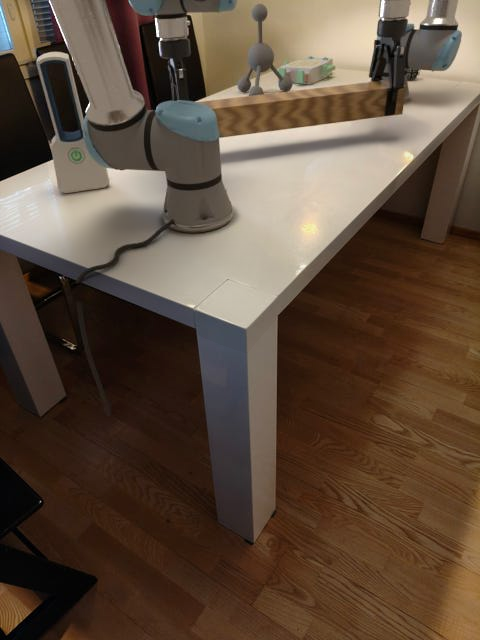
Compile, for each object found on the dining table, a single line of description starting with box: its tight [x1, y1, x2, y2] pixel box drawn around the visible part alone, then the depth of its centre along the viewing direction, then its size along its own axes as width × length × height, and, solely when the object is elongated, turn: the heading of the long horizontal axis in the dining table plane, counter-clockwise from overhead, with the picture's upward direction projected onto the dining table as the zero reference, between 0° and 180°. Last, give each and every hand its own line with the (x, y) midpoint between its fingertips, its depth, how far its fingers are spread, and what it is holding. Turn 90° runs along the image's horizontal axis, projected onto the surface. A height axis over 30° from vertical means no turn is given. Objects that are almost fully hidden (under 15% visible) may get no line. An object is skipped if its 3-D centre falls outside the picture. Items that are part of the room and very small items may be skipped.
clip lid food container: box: [277, 55, 336, 85], centre depth 206 cm, size 26×6×20 cm
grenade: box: [407, 69, 421, 81], centre depth 194 cm, size 7×6×10 cm
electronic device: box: [35, 51, 110, 194], centre depth 116 cm, size 12×8×30 cm, turn 105°
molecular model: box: [237, 3, 293, 96], centre depth 180 cm, size 24×22×30 cm
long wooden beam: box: [197, 80, 406, 139], centre depth 133 cm, size 66×8×7 cm, turn 104°
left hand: (184, 135), depth 130 cm, fingers closed on long wooden beam, 9 cm apart
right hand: (382, 110), depth 140 cm, fingers closed on long wooden beam, 9 cm apart
